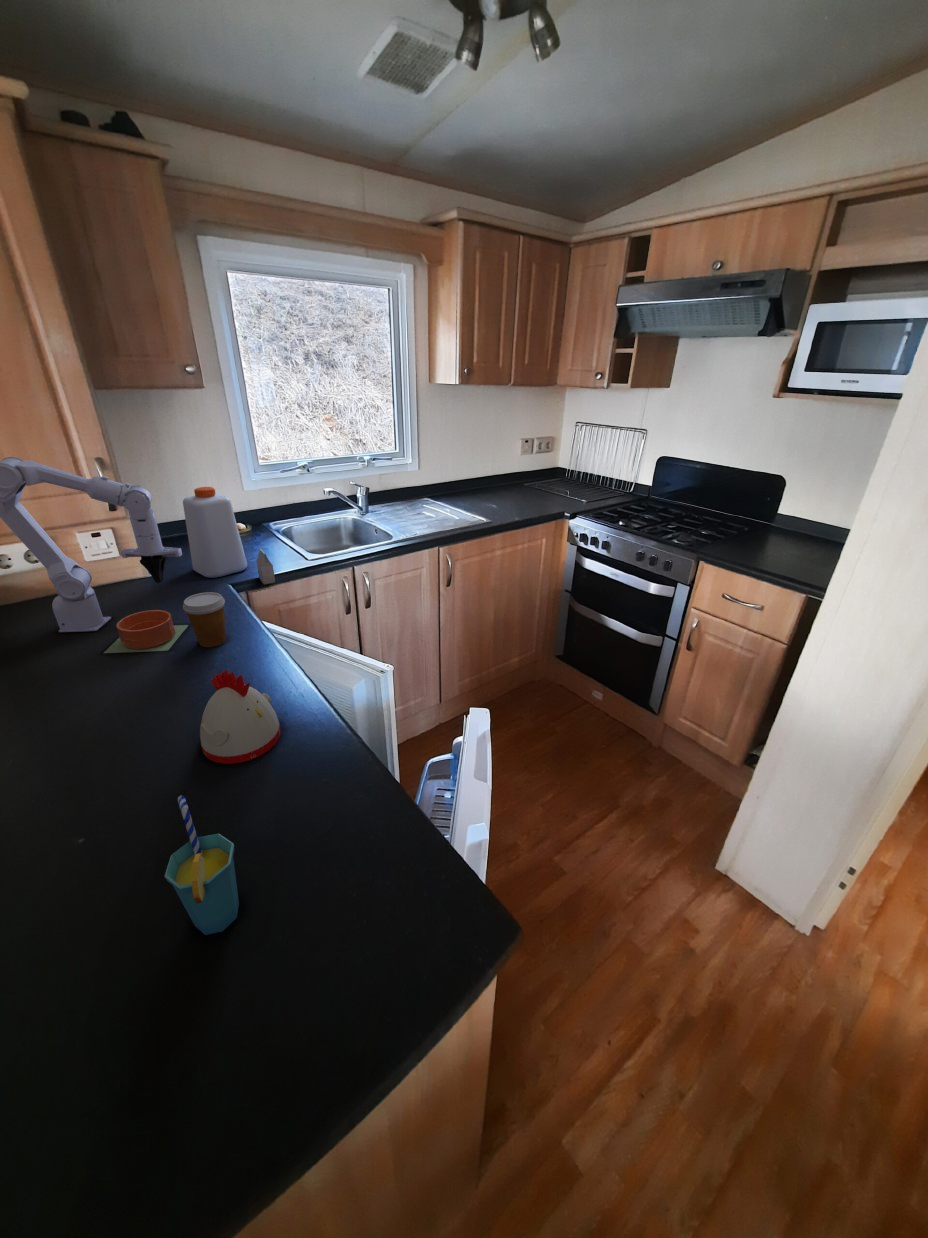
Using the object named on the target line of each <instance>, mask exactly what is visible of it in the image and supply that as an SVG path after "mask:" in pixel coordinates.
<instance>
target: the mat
mask: <svg viewBox="0 0 928 1238" xmlns="http://www.w3.org/2000/svg"><path fill="white" fill-rule="evenodd" d="M173 625H174V624H173ZM188 627H189V624H178V625H176V624H175V625H174V628H175V632H176V634H175V635H174V636H173V638H171V639H170V640H168V641H167V642H165V643H163V644H160V645H158V646H154V647H150V648H143V649H133V648H127V647H125V646H124V645H122V643H121V640H120V637H118V638H117V639H116V640H115V641H114V642H113V643H112V644H111V645H110V646H109V647H108V648H107V649H106V650H104V652H103V654H118V653H119V654H120V653H121V654H123V653H144V652H168V651H169V650H170V649H171V648H172V647H173V646H174V645H175V643H176V641H178V639H180V637H181V636H182V634H184V632H185V631H186V630H187V629H188Z"/></svg>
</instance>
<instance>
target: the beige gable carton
mask: <svg viewBox="0 0 928 1238" xmlns="http://www.w3.org/2000/svg"><path fill="white" fill-rule="evenodd" d="M266 554H267V553H265V551H264V550H263V549H262V548H259V550H258V554H257V558H256V561H255V563H256V568H257V569H256V570H257V574H258V579H259V580H260V582H261V583H262V584H263V585H268V584H269V585H270V584H274V583H276V578H275V577H276V576H275V572H274V565H273V563H272V562H271V561H270V560H269V558H268V556H267V555H266Z"/></svg>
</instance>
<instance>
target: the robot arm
mask: <svg viewBox="0 0 928 1238" xmlns="http://www.w3.org/2000/svg"><path fill="white" fill-rule="evenodd" d="M43 483H45V484H49V485H54V486H59V487H62V488H66V489H71V490H76V491H80V492H85V493H86V494H87V495H88V497H89V498H90V499H92V500H95V501H99V502H102V503H107V504H111V505H114V506H117V507H124V508H125V509H126V511H128V514H129V521H130V524H131V528H132V532H133V535H134V539H135V543H136V546H137V547H134V548H133V547H132V548H123V549H122V550H120V553H121V557H122V559H128V558H140V559H139V563H140V564H141V566H142V567H144V568H145V569H146V570H147V571H148V573H149V574H150V576H151V578H152V579H153V580H154V583H156V584H160V583H162V582H163V581H164V580H165V579H164V572H165V571H164V570H165V565H166V561H167V559H168V557H175V558H180V557H182V556H183V552H182V548H181V547H169V546H164V545H163V543H162V539H161V538H162V537H161V535H160V530H159V526H158V522H157V518H156V515H155V514H154V509H153V506H152V505H151V503H152V495H151V492H150V491H149V490H147V489H146V488H145V487H143V486H140V485H138V484H134V485H132V484H131V483H128V482H126V483H122V482H118V481H115V480H111V479H109V476H106V475H101V476H97V475H96V476H93V477H91V478H86V477H83V476H80V475H77V474H74V473H71V472H69V471H68V472H67V471H65V470H62V469H58V468H55V467H52V466H49V465H45V464H43V463H40V462H36V461H34V460H30V459H22V458H19V457H15V456H7V457H4V458H2V459H1V460H0V519H1V520H2V522H3V523H4V524H5V525H6V526H7V527H8V528H9V529H10V530H11V531H12V532H13V534H14V535H15V537H17V538H18V539H19V540H20V542H21V543H22V544H23V545H24V546H25V547H26V548H27V549H28V551H29V552H31V554H32V555H33V556H34V557H35V558H36V559H37V560H38V562H39V563H40V564H41V565H42V566H43V567H44V568H45V569H46V571H47V575H48V579H49V581H50V582H51V583H52V584H53V586H54V590H55V593H56V594H57V596H55V597H54V598H53V600H52V604H51V607H52V608H51V609H52V612H53V614H54V617H55V620H56V622H57V626H58V627H59V628H58V629H59V630H58V633H80V632H83V633H84V632H97V631H98V630H99V629H101V628H102V627H103V626H104V625H105V624H107V623H108V622H109V621H110V620H111V619H112V616H104V615H103V613H102V610H101V607H100V604H99V601H98V598H97V596H96V595H97V594H96V592H95V589H94V588H92V587H91V582H92V580H93V578H92V574H91V572H90V571H89V570H88V569H87V568H85V567H83V566H81V565H80V564H78V563H77V562H76V560H75V559H72V558H71V557H68V556H67V555H66V554H65V553H64V552H63V550H62V549H61V548H60V547H59V546H58V545H57V544H56V542H55V541H54V540H53V539H52V538H51V536H50V535H49V534H48V533H47V532H46V531H45V530H44V529H43V527H42V526H41V525H40V524H39V523H38V522H37V520H36V519H35V518H34V517H33V516H32V515H31V513H30V512H29V511H28V510H27V508H25V507H24V505H23V504H22V503H21V498H22V495H23V492H24V489H25V487H26V486H27V487H29V486H35V485H38V484H43Z"/></svg>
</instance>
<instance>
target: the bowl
mask: <svg viewBox="0 0 928 1238" xmlns="http://www.w3.org/2000/svg"><path fill="white" fill-rule="evenodd" d="M172 617H173V616H172V614H171V613H170V612H169V611H167V610H161V609H151V610H148V609H147V610H143V611H138V612H134V613H132V614H129V615H126V616H125V617H123V618H121V619H120V620H118V622H116V630H117V633H118V637H119V638H120V640H121V643H122V645H124V646H125V647H127V648H133V649H143V648H150V647H154V646H158V645H160V644H163V643H165V642H167V641H168V640H170V639H171V638H173V636H174V635H175V634H176V632H175V628H174V622H173V618H172Z"/></svg>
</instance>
